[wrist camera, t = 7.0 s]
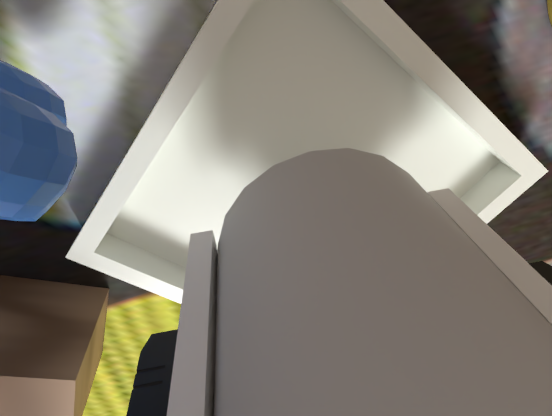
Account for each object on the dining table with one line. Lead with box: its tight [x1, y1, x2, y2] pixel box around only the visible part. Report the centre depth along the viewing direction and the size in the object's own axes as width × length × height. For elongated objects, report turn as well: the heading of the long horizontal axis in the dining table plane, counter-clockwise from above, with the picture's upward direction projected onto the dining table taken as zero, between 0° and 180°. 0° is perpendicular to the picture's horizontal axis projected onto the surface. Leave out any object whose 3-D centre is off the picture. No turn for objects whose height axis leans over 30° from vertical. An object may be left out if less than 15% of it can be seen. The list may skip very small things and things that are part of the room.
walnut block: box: [0, 275, 109, 416], centre depth 17 cm, size 5×5×5 cm
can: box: [214, 148, 552, 416], centre depth 9 cm, size 8×8×12 cm
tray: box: [65, 0, 548, 304], centre depth 16 cm, size 14×14×2 cm
